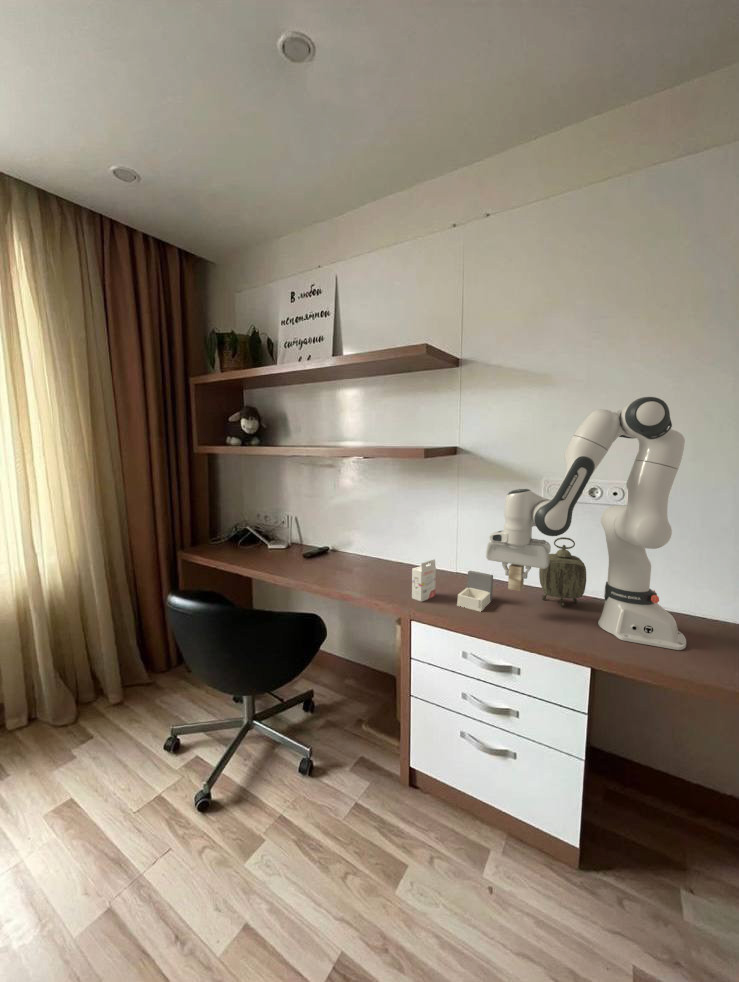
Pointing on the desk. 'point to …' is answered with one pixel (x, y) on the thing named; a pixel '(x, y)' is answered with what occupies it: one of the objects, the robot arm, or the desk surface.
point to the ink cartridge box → (424, 581)
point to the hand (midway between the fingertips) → (516, 576)
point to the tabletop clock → (563, 575)
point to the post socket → (476, 591)
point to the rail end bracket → (515, 577)
